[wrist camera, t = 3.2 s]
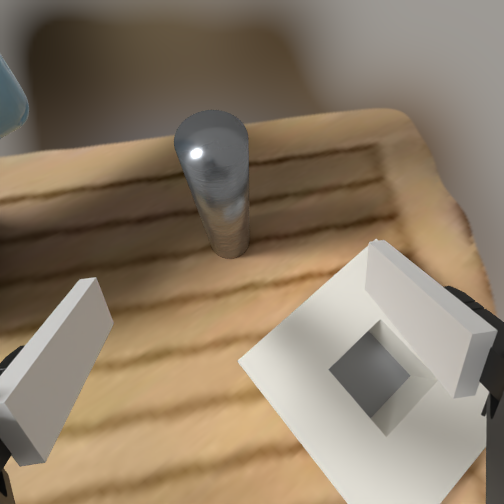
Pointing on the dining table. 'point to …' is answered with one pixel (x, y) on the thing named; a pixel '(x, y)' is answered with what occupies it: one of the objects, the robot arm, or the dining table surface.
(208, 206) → the pin
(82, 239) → the dining table surface
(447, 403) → the hole block
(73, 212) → the dining table surface
